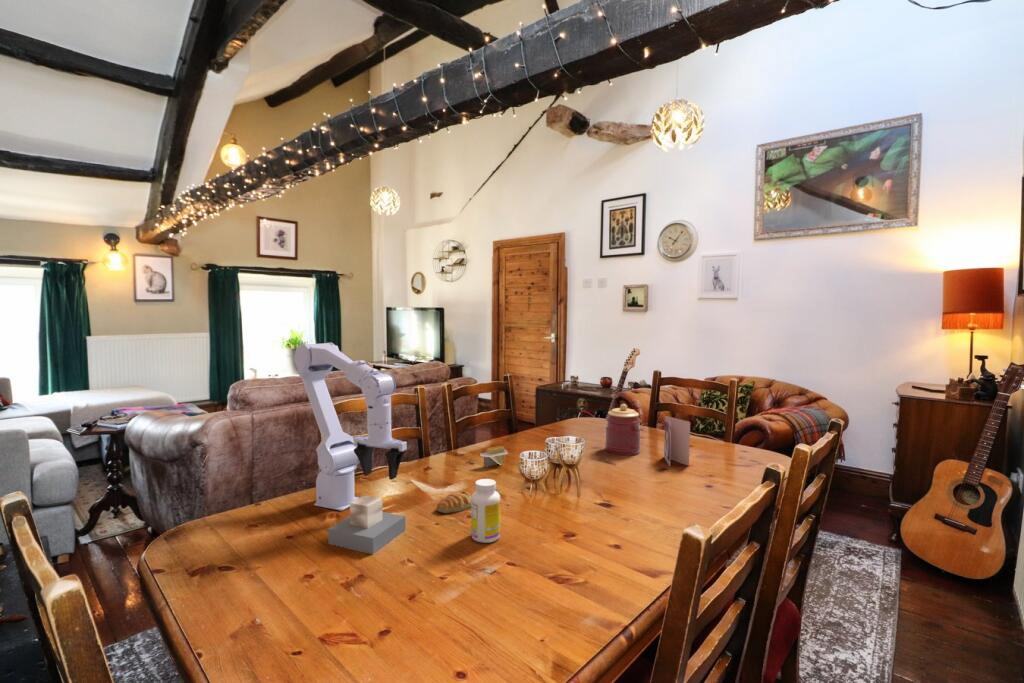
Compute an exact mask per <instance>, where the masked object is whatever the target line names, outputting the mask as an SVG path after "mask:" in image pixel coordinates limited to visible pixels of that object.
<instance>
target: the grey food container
mask: <svg viewBox="0 0 1024 683" xmlns="http://www.w3.org/2000/svg"><path fill="white" fill-rule="evenodd" d="M505 448H506V447H504V446H502V445H501V446H495V447H493V448H492V449H491V447H489V448H487V451H486V452H482V453H481V452H480V454H479V456H481V457H483V468H484V467H486V468H488V467H487V466H490V467H493V466H492V465H495V466H497V465H496V464H499V466H500V465H502V466H503V465H504V464H503V463H504V461H505V460H504V458H505V456H504V455H508V453H509V452H508V450H507V449H505ZM501 463H502V464H501Z"/></svg>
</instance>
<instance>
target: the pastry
mask: <svg viewBox="0 0 1024 683" xmlns="http://www.w3.org/2000/svg"><path fill="white" fill-rule="evenodd" d="M469 507H470V508H471V494H470V493H469V492H468V491H466V490H459V491H458V492H454V493H450V494H448V495H447V496H446V497H444V498H443V499H441V500H440V501H439V502H438V504H437V507H436V510H437V511H438V512H439V513H443V514H450V513H449V512H452V513H459V512H461V510H462V511H464V509H465V510H468V509H470V508H469ZM467 508H468V509H467ZM458 511H459V512H458Z"/></svg>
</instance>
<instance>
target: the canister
mask: <svg viewBox="0 0 1024 683" xmlns="http://www.w3.org/2000/svg"><path fill="white" fill-rule="evenodd" d="M607 414H608V416H607V417H606V418H605V421H606V426H605V427H604V428H605V443H604V447H605V451H606V452H608V453H611V454H614V455H619V456H635V455H638V454H639V453H640V451H641V448H642V447H641V431H642V429H641V426H640V424H641V422H642V420H641V418H639V416H640V414H639V412H637V411H636V410H635V409H632V408H628V405H627V404H625V403H621V404H620V406H619V407H615V408H612V409H611V410H609V411H608V412H607Z"/></svg>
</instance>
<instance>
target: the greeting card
mask: <svg viewBox="0 0 1024 683" xmlns="http://www.w3.org/2000/svg"><path fill="white" fill-rule="evenodd" d="M663 423H664V424H663V425H664V439H663V440H664V446H663V447H664V448H663V450H664V451H663V458H664V460H665V461H666V463H667V464H668V467H671V460H672V461H675V462H677V463H680V464H682V465H685V466H688V467H689V466H690V447H691V446H690V443H691V442H690V441H691V422H690V421H688V420H684V419H680V418H677V417H672V416H669V415H665V416H664V420H663Z"/></svg>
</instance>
